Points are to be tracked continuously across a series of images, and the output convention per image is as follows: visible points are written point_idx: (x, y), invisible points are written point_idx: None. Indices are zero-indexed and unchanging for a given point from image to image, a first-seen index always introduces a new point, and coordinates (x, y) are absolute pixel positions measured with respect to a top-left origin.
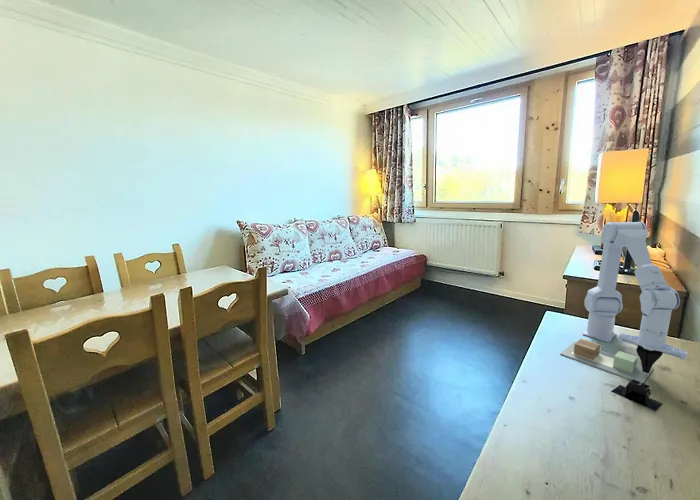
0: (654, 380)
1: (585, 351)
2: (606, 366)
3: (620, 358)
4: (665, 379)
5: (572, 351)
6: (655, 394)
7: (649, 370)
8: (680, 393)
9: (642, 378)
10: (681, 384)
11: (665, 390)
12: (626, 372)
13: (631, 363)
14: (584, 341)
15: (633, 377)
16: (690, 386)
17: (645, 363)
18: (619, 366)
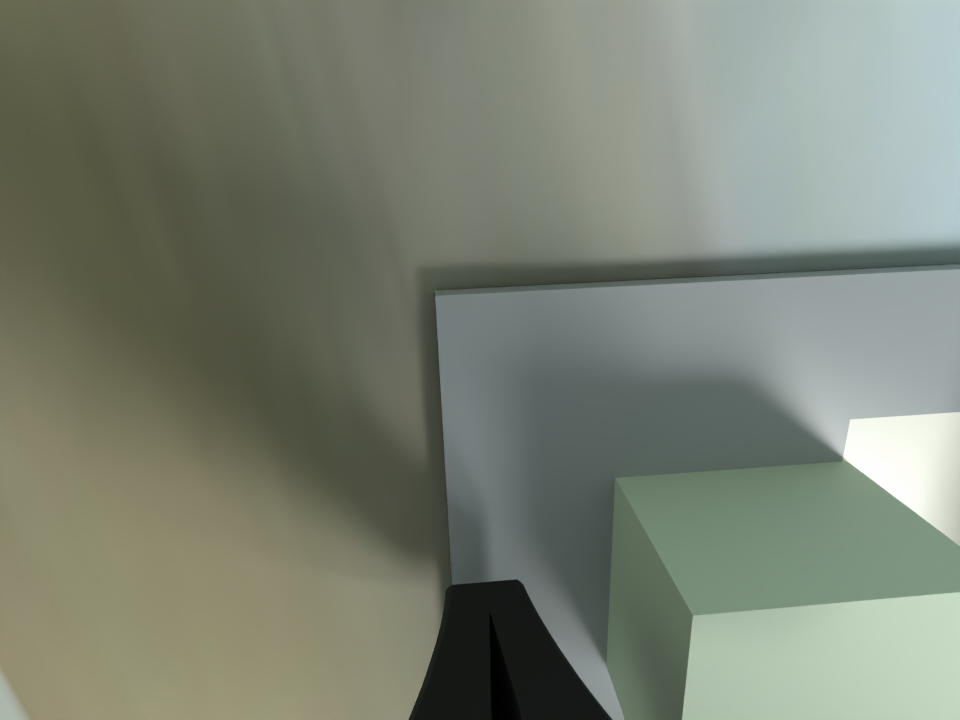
0: (367, 536)
1: None
2: (921, 389)
3: (902, 589)
4: (293, 659)
5: None
6: (214, 116)
7: (442, 629)
8: (39, 454)
9: (478, 437)
10: (138, 683)
11: (182, 376)
12: (675, 438)
13: (707, 583)
14: None
15: (573, 363)
16: (62, 713)
17: (521, 703)
18: (791, 487)
